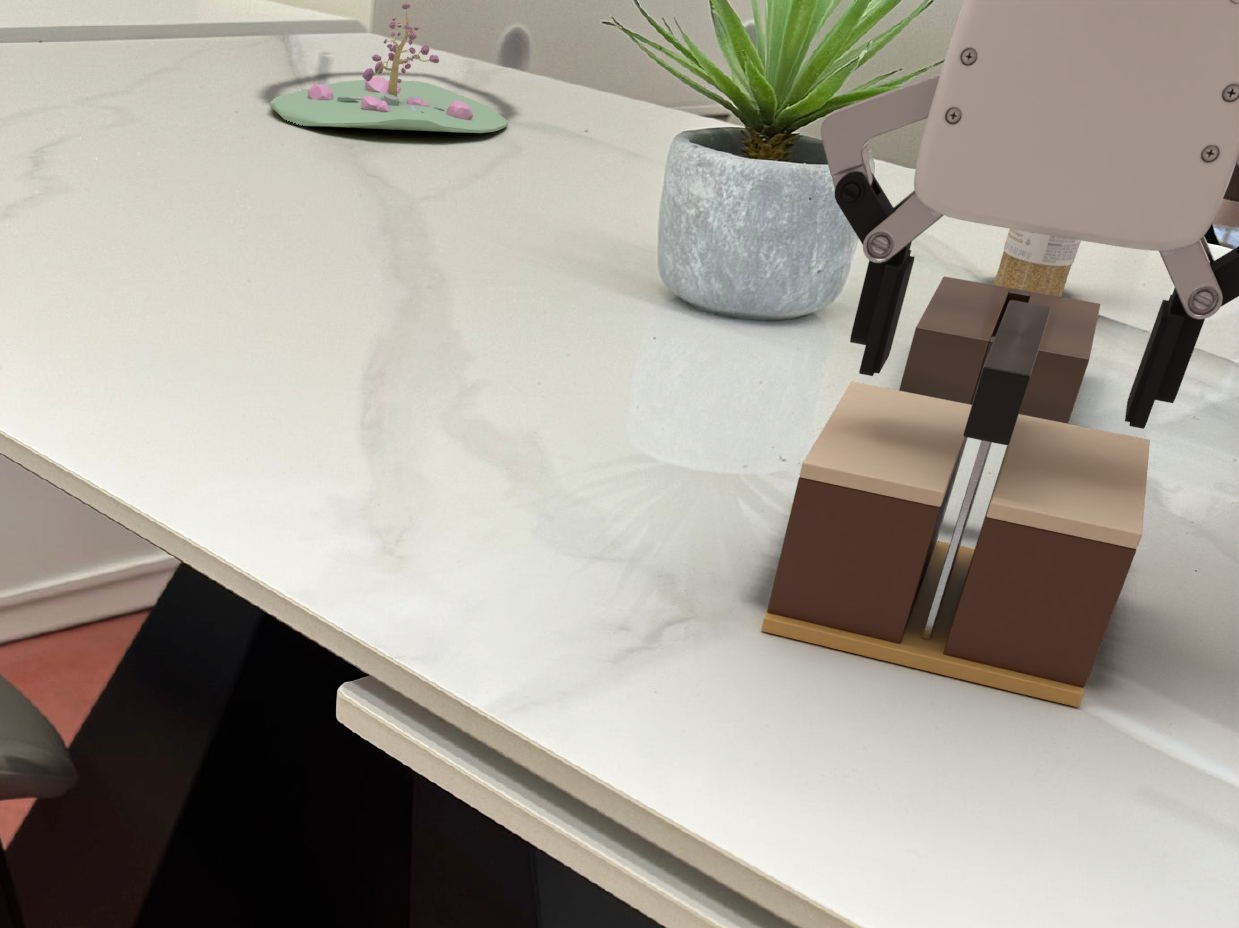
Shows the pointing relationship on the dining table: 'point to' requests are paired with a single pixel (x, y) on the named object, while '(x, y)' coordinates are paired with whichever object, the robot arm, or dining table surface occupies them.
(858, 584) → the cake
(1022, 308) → the slim kitchen knife
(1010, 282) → the sprinkles bottle
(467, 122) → the plant
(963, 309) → the knife block
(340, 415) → the dining table surface
